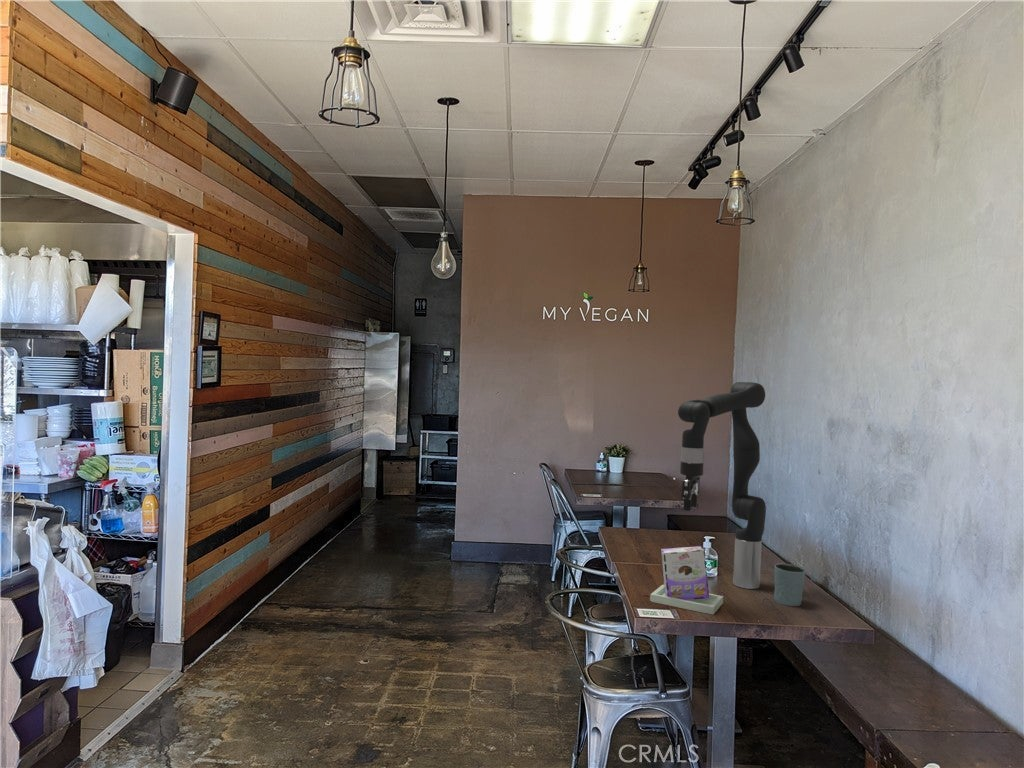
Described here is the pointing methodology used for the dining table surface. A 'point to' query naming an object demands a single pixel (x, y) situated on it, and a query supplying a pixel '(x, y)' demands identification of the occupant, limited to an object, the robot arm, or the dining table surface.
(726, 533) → the dining table surface
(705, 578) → the candy box
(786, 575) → the green cup
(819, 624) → the dining table surface
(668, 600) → the tray
